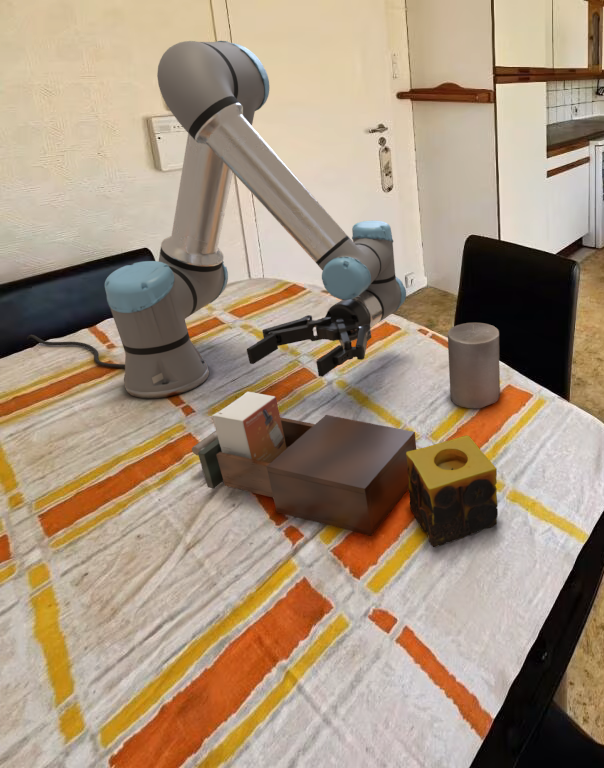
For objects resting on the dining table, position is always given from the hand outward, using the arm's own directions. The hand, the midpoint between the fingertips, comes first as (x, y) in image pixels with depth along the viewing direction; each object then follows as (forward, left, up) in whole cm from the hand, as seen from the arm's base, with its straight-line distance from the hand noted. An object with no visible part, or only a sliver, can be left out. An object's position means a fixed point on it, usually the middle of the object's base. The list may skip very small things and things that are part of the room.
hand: (283, 362), depth 102 cm
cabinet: (+17, -11, -15) cm, 25 cm away
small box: (+1, -11, -13) cm, 17 cm away
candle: (+34, -11, -15) cm, 39 cm away
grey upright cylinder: (+24, +23, -15) cm, 37 cm away
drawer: (+1, -11, -14) cm, 17 cm away
